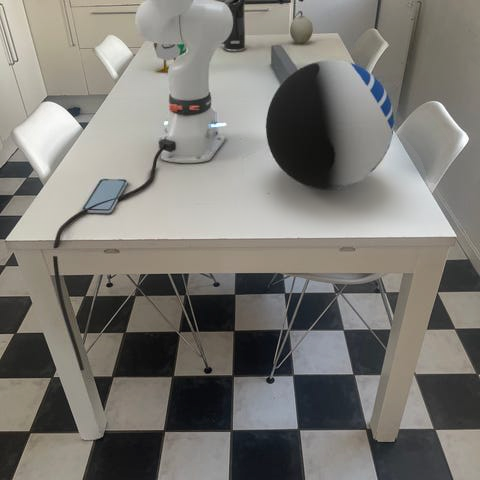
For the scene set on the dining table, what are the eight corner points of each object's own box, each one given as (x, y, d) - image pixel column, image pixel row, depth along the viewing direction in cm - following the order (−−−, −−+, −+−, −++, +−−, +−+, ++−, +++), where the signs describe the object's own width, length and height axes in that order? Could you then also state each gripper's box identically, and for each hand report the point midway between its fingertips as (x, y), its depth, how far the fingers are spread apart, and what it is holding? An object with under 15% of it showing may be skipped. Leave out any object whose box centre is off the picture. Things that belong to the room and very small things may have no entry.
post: (308, 109, 173) (309, 86, 168) (296, 110, 172) (297, 86, 168) (280, 64, 215) (281, 44, 210) (270, 65, 215) (271, 45, 210)
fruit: (304, 38, 249) (305, 4, 240) (316, 43, 240) (318, 9, 231) (284, 40, 245) (285, 7, 237) (296, 46, 237) (297, 11, 228)
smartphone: (80, 210, 121) (100, 178, 133) (81, 213, 122) (101, 181, 134) (110, 211, 121) (128, 179, 133) (111, 214, 121) (128, 182, 133)
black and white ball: (400, 209, 120) (424, 81, 103) (272, 216, 119) (274, 88, 101) (366, 153, 144) (380, 42, 127) (260, 158, 143) (260, 47, 126)
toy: (155, 65, 218) (148, 2, 203) (198, 69, 211) (194, 5, 197) (145, 70, 212) (137, 6, 198) (190, 75, 205) (185, 9, 191)
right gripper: (304, -50, 186) (302, -2, 195) (270, -47, 181) (269, 2, 191) (315, -48, 180) (312, 2, 190) (280, -45, 176) (279, 6, 185)
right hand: (291, 2), depth 190 cm, fingers open, 8 cm apart
